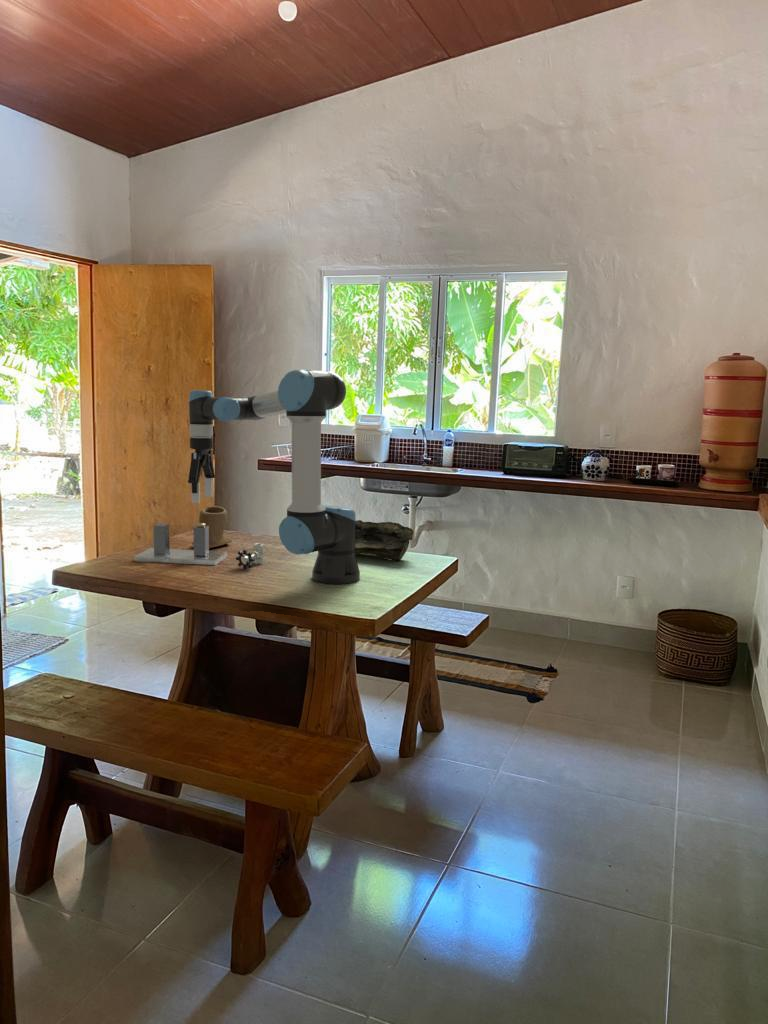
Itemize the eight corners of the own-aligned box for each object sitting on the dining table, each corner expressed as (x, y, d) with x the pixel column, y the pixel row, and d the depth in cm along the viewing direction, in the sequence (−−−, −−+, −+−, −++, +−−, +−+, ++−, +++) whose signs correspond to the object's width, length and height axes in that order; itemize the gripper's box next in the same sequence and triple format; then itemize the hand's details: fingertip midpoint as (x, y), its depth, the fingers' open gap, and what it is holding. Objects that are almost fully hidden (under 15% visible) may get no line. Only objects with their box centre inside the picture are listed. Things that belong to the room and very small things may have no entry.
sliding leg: (205, 555, 258) (205, 525, 256) (193, 555, 258) (193, 524, 256) (208, 553, 262) (208, 522, 260) (197, 552, 262) (197, 522, 260)
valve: (253, 560, 261) (235, 568, 250) (253, 542, 260) (235, 548, 249) (270, 562, 259) (253, 570, 248) (270, 543, 258) (253, 550, 247)
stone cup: (210, 552, 271) (210, 511, 269) (187, 547, 278) (187, 507, 275) (240, 545, 284) (240, 506, 281) (218, 541, 290) (217, 502, 288)
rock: (412, 576, 265) (427, 541, 272) (401, 556, 256) (417, 520, 263) (344, 562, 279) (360, 529, 285) (331, 543, 269) (348, 509, 276)
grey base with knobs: (215, 565, 253) (215, 531, 251) (134, 561, 255) (133, 527, 253) (227, 555, 266) (227, 523, 265) (150, 552, 269) (149, 520, 267)
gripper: (202, 434, 265) (203, 494, 269) (177, 439, 241) (178, 504, 244) (223, 435, 265) (223, 495, 268) (200, 439, 240) (201, 505, 244)
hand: (202, 499), depth 256 cm, fingers open, 13 cm apart
